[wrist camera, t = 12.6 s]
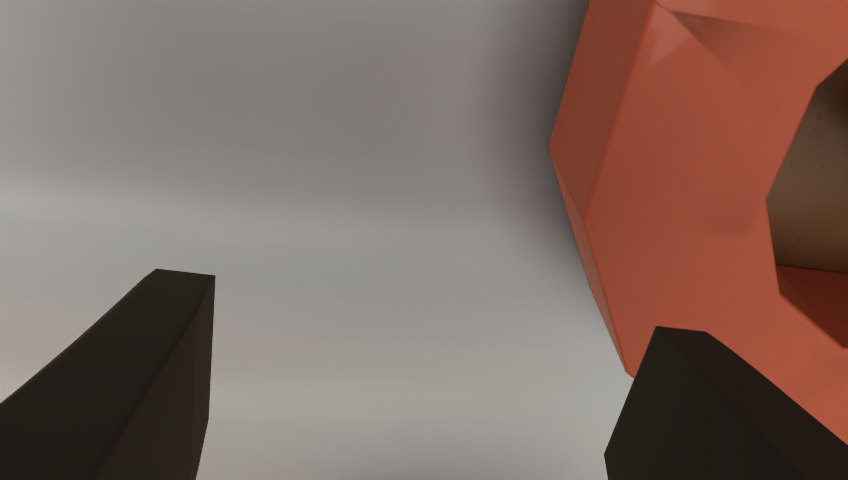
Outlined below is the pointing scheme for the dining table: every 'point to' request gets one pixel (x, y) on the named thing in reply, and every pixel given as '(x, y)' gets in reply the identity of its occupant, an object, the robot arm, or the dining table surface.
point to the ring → (702, 181)
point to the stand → (815, 185)
